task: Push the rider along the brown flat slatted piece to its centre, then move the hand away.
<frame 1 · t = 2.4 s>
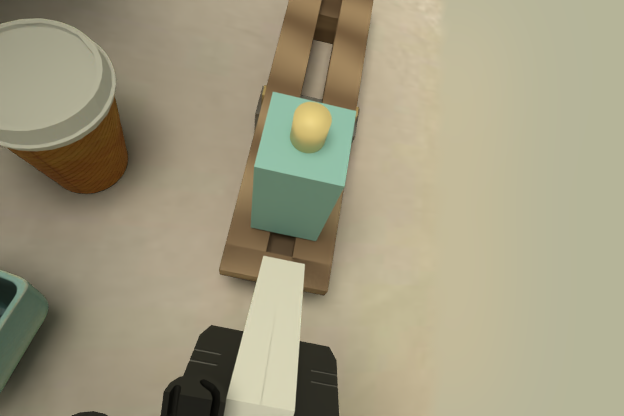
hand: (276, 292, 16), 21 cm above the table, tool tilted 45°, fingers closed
rider: (297, 174, 29), point 11 cm above the table, slide at -10.0 cm
disposable coffee cup: (90, 162, 39), on the table
brown flat slatted piece: (303, 131, 43), on the table
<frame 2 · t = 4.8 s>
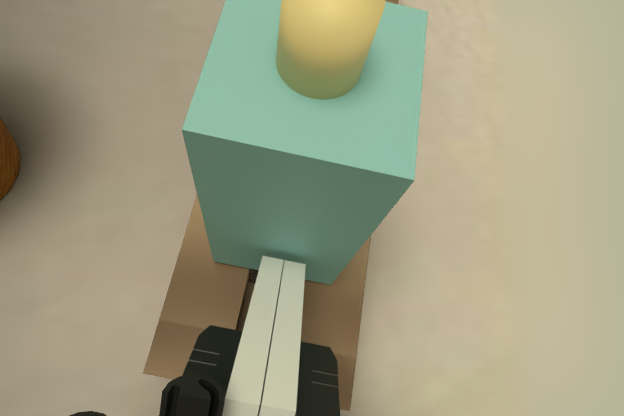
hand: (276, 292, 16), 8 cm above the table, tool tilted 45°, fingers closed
rider: (297, 160, 15), point 11 cm above the table, slide at -8.8 cm, touching gripper
brown flat slatted piece: (303, 121, 28), on the table
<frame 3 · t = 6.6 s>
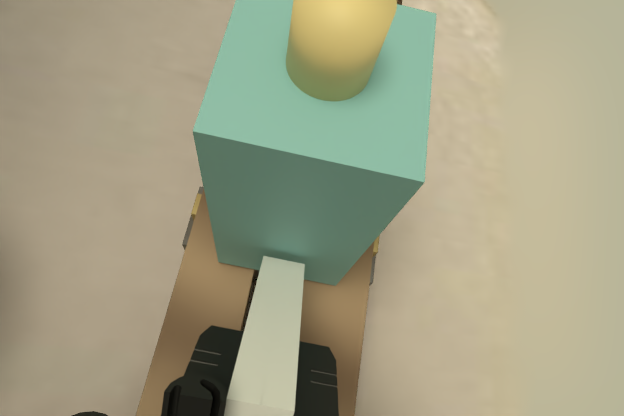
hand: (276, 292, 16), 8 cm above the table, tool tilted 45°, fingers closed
rider: (303, 162, 15), point 11 cm above the table, slide at 0.1 cm, touching gripper
brown flat slatted piece: (279, 254, 24), on the table
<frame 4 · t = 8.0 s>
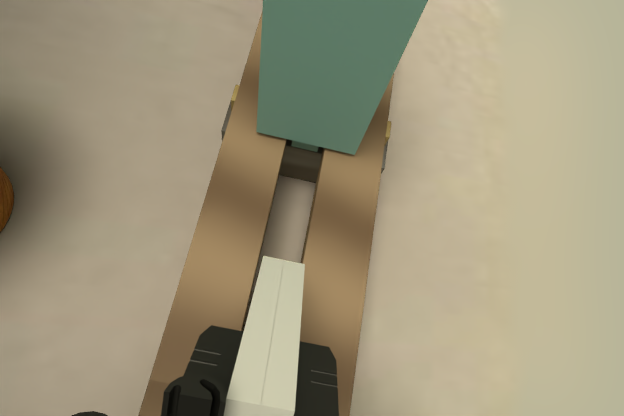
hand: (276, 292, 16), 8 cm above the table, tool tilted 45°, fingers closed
rider: (333, 25, 18), point 11 cm above the table, slide at 0.3 cm
brown flat slatted piece: (301, 157, 28), on the table
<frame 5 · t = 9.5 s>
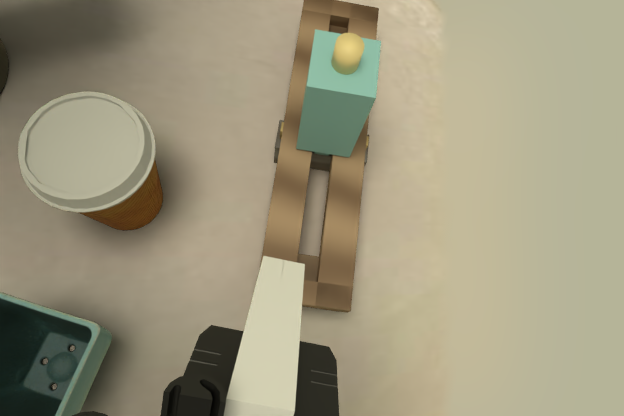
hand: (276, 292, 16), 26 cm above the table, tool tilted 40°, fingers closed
rider: (334, 98, 36), point 11 cm above the table, slide at 0.3 cm
disposable coffee cup: (130, 200, 43), on the table
brown flat slatted piece: (318, 156, 46), on the table
flower pot: (66, 366, 38), on the table
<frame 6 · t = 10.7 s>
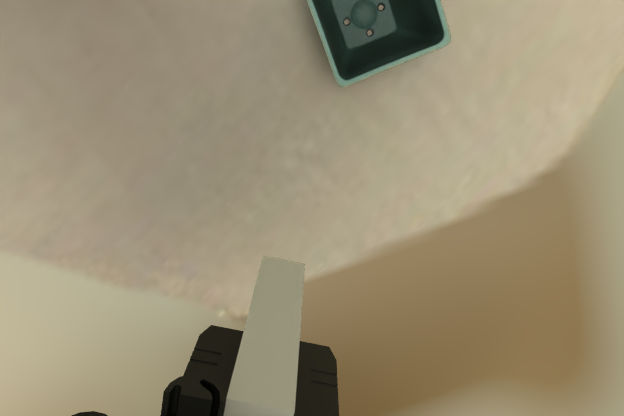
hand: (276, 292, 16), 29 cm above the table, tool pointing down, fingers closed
flower pot: (364, 13, 39), on the table
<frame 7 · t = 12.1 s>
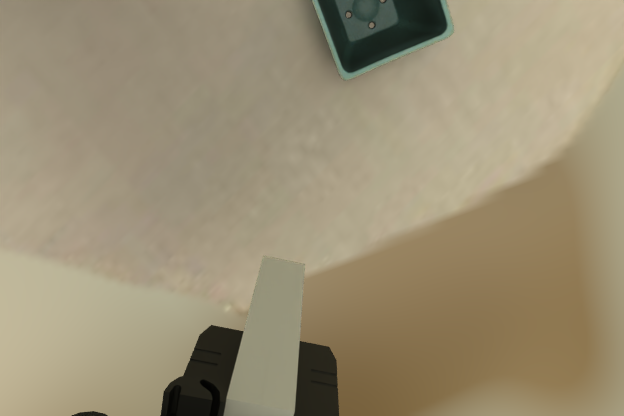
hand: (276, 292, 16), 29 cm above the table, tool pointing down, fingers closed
flower pot: (365, 6, 39), on the table
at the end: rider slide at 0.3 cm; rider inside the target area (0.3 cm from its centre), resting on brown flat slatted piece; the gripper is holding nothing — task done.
